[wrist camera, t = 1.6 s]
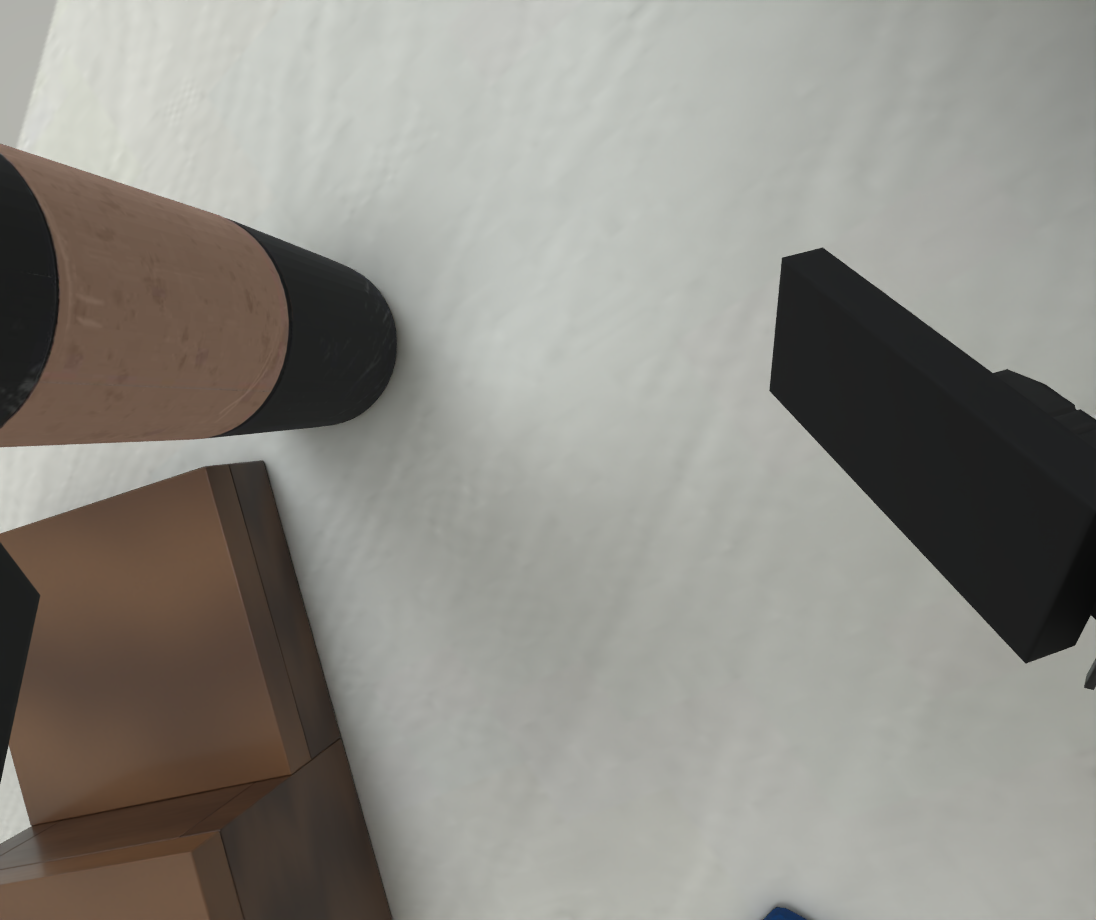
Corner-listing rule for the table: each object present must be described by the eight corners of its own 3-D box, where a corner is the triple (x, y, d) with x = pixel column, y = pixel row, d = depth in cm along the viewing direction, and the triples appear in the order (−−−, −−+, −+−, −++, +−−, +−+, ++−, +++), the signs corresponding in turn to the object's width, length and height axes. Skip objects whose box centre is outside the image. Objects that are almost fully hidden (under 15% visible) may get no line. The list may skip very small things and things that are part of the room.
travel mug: (301, 464, 37) (-214, 525, 18) (220, 319, 38) (-361, 227, 18) (435, 371, 35) (20, 328, 16) (347, 221, 36) (-155, 3, 16)
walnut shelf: (30, 535, 41) (-196, 574, 32) (263, 459, 38) (87, 478, 28) (148, 963, 41) (-44, 1133, 31) (396, 930, 37) (263, 1113, 28)
